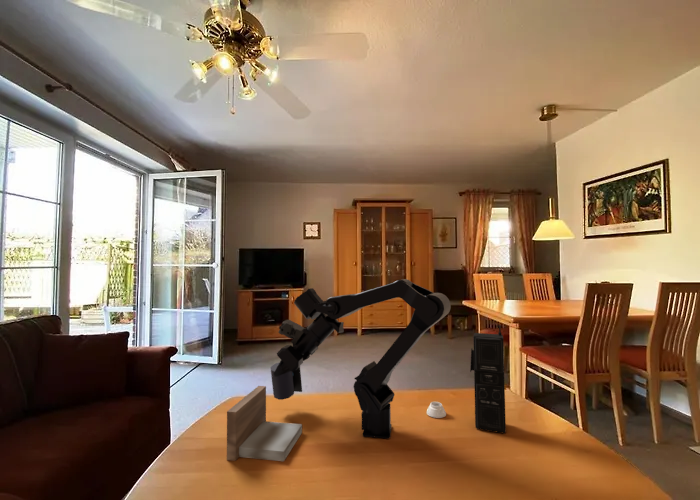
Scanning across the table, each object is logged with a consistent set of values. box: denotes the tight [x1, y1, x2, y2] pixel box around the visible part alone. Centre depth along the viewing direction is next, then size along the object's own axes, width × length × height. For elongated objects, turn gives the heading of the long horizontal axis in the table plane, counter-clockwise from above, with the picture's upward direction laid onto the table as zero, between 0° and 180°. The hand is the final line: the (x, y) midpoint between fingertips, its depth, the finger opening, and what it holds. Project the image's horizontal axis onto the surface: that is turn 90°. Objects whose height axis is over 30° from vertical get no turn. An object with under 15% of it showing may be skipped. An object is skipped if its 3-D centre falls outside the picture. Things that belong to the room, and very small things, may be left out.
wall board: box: [226, 385, 303, 462], centre depth 77 cm, size 12×15×10 cm
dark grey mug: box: [270, 362, 303, 401], centre depth 93 cm, size 8×6×10 cm
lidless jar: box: [426, 401, 447, 419], centre depth 91 cm, size 5×3×5 cm
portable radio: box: [469, 325, 507, 434], centre depth 85 cm, size 8×6×25 cm
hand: (278, 371), depth 92 cm, fingers closed on dark grey mug, 6 cm apart
